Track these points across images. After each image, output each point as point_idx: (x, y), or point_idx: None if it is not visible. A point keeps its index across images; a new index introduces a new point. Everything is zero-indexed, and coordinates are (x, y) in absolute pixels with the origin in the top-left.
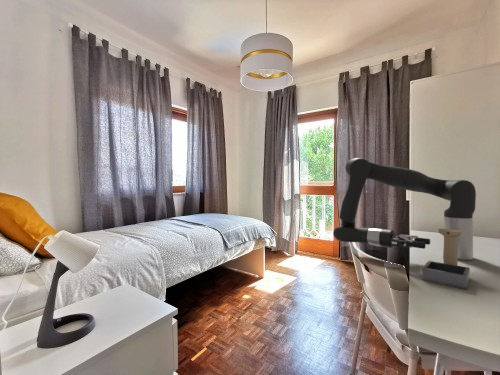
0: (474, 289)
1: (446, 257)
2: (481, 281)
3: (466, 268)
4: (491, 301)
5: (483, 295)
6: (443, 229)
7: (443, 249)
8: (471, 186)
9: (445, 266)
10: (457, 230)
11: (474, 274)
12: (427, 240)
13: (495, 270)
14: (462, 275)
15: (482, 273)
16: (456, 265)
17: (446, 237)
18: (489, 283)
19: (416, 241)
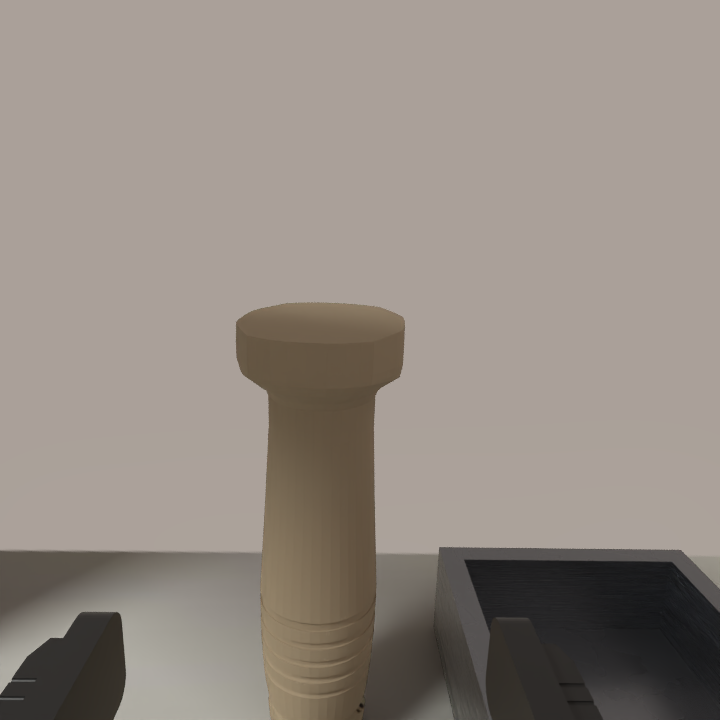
0: None
1: (369, 617)
2: (405, 589)
3: (482, 556)
4: (698, 563)
5: None
6: (319, 332)
7: (326, 570)
8: None
9: None
10: (303, 307)
11: None
12: (109, 652)
13: (81, 551)
14: (689, 562)
15: (205, 588)
16: (456, 595)
17: (367, 411)
18: (409, 567)
19: (533, 714)
